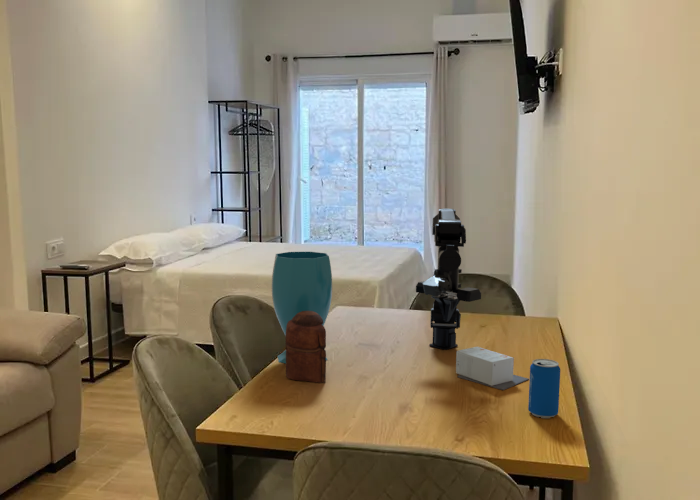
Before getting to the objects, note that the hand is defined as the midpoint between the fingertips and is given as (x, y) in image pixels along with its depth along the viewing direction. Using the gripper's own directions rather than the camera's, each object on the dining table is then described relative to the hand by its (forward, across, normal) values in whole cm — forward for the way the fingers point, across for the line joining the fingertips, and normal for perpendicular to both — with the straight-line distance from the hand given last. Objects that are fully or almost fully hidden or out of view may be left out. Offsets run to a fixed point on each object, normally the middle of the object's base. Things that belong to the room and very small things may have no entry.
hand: (446, 321), depth 182 cm
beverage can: (+13, +38, -13) cm, 42 cm away
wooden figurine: (+13, -17, -36) cm, 42 cm away
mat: (+12, +16, 0) cm, 20 cm away
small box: (+9, +8, -1) cm, 12 cm away
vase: (+13, -32, -26) cm, 43 cm away
